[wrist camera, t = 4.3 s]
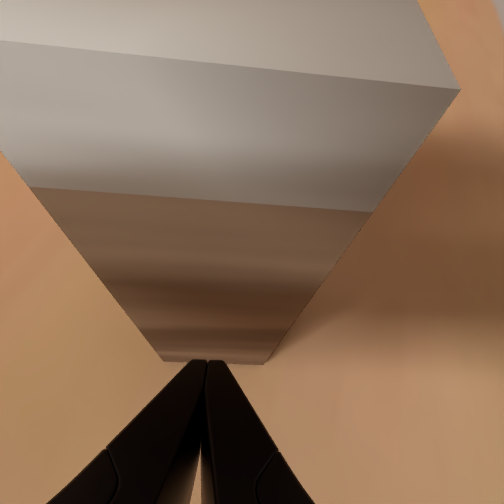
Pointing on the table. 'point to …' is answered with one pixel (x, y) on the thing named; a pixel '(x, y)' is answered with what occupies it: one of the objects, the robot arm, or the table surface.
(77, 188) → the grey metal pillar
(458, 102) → the table surface
